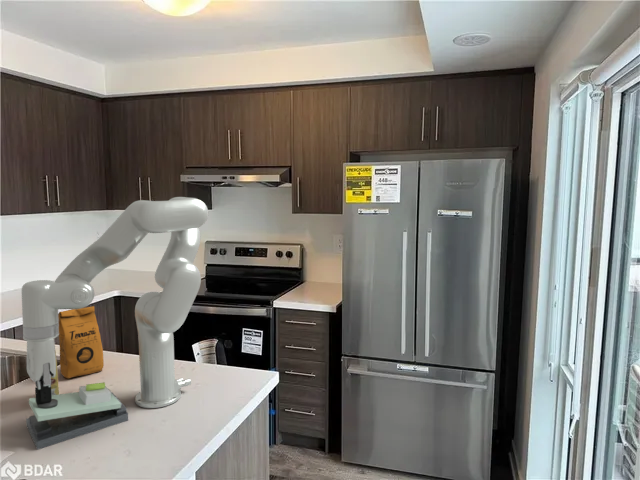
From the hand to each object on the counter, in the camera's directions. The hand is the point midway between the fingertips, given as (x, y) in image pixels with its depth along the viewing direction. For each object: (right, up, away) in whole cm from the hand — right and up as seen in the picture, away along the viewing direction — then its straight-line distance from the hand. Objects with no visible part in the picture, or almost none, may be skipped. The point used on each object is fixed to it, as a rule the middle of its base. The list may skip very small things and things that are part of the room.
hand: (43, 402), depth 115 cm
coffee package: (-10, -4, +37) cm, 39 cm away
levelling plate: (+5, -3, +5) cm, 8 cm away
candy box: (-10, -6, +19) cm, 22 cm away
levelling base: (+5, -8, +6) cm, 11 cm away
